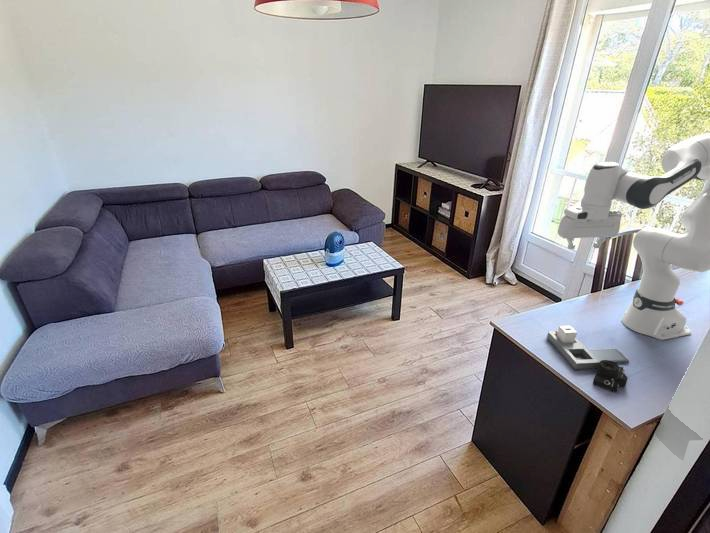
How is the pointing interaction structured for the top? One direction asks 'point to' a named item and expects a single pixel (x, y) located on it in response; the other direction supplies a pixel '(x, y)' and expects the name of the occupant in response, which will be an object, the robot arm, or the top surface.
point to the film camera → (610, 376)
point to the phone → (609, 355)
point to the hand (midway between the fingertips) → (583, 248)
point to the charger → (566, 334)
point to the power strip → (574, 353)
